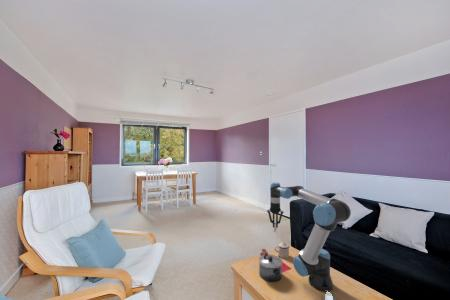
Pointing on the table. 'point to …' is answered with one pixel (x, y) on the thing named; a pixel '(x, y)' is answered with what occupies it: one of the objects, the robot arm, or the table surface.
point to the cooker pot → (270, 273)
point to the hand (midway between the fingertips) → (275, 231)
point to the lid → (270, 260)
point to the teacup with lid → (283, 250)
